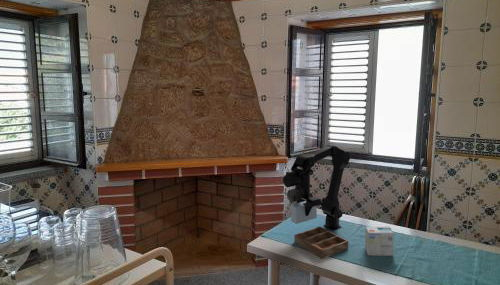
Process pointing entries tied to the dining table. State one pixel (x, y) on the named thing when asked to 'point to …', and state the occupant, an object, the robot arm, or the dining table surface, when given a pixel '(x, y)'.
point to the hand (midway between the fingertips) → (304, 214)
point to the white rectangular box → (302, 213)
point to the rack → (321, 242)
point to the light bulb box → (379, 241)
